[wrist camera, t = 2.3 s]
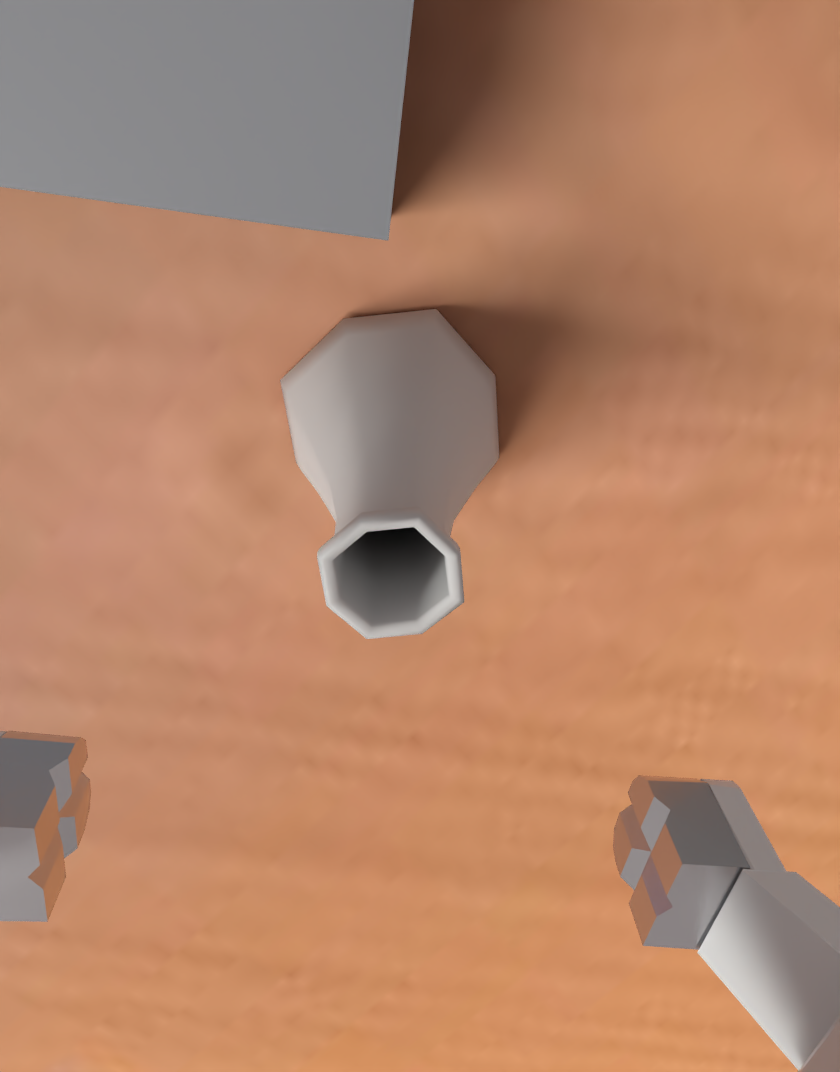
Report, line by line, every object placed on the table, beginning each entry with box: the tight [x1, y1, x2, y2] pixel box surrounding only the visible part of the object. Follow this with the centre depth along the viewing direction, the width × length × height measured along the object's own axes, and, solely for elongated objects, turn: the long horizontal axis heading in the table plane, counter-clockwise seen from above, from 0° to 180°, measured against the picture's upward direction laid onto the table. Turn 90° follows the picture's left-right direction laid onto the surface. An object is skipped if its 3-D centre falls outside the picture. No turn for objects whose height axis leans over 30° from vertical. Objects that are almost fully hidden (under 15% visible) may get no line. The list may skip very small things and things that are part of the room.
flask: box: [280, 309, 499, 639], centre depth 21 cm, size 7×7×10 cm
